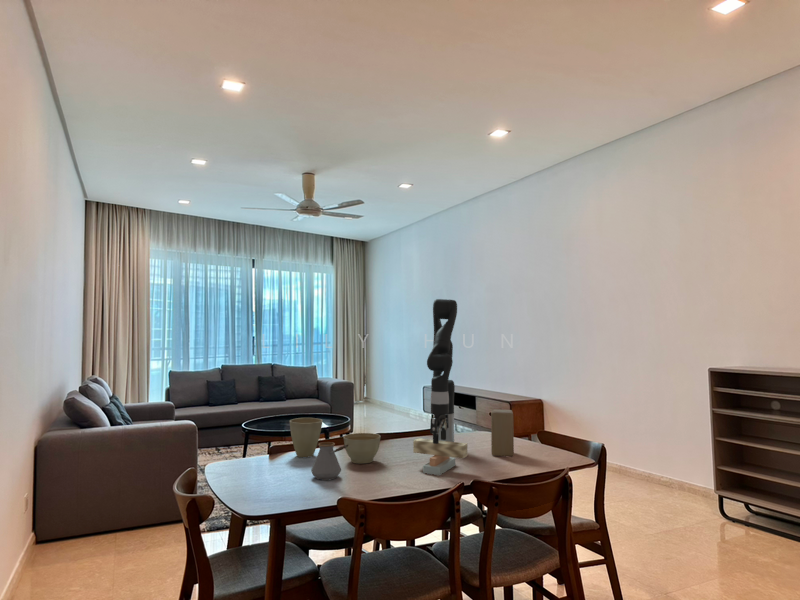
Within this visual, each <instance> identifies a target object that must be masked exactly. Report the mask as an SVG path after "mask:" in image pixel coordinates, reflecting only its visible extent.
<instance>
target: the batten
mask: <svg viewBox="0 0 800 600" xmlns="http://www.w3.org/2000/svg"><path fill="white" fill-rule="evenodd" d="M412 443H413V447H412V448H413V449H412V450H413V451H412V452H413V454H414V453H415V454H421V455H422V454H423V455H431V456H434V455H438V456H446V457H452V458H455V459H457V458H458V459H465V458H466V457H468V443H467V442H456V441H454V442H449V441H439V443H438V444H434V443H433V439H429V438H421V437H420V438H416V439H414V440H413V442H412Z"/></svg>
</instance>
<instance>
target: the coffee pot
mask: <svg viewBox="0 0 800 600" xmlns="http://www.w3.org/2000/svg"><path fill="white" fill-rule="evenodd" d="M335 445H336V443H335V442H332V441H331V442H330V441H323V442H318V444H317V447H318V448H319V451H318V452H317V455H316V457H315V460H314V463H313V465H312V468H311V473H312V476H314V477H315V479H316V478H317V480H319V479H322V480H321V481H330V480H329V479H332V480H334V478H335V479H336V478H337V477H338V476H339V475H340V473H341V471H342V468H341V465H340V463H339V460H338V457H337V456H336V453H337V452H340V451H343V450H344V449H345V450H346V447H348V446H349V445H342V446H339V447H337V448H336V449H334V448H335V447H334V446H335ZM350 448H351V447H350ZM349 450H350V449H349Z"/></svg>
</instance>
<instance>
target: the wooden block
mask: <svg viewBox="0 0 800 600" xmlns="http://www.w3.org/2000/svg"><path fill="white" fill-rule="evenodd" d="M490 419H491V420H490V422H491V423H490V424H491V425H490V427H491V428H490V429H491V430H490V432H491V434H490V435H491V436H490V438H491V440H490V441H491V445H490V446H491V449H490V450H491V455H492V456H493V457H506V456H511V457H510V458H512V457H514V455H515V453H514V451H515V449H514V448H515V447H514V446H515V444H514V439H515V438H514V437H515V435H514V434H515V433H514V430H515V429H514V412H513V410H512V409H495V408H494V409H492V410H491V411H490Z"/></svg>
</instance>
